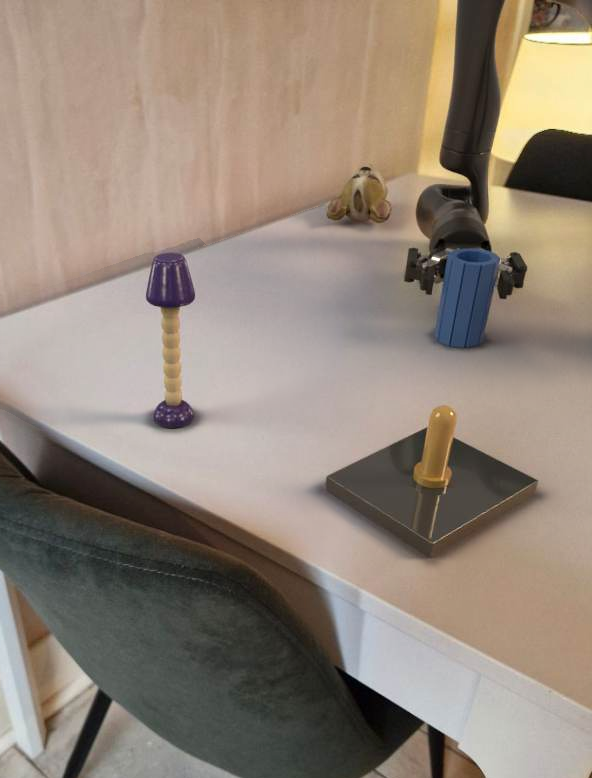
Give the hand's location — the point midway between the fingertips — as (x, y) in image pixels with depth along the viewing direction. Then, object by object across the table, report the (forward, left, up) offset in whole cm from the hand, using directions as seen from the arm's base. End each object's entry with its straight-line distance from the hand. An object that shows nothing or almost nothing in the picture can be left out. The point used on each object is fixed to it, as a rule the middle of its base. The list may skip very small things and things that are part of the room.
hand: (467, 289), depth 90 cm
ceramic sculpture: (-26, -41, -6) cm, 49 cm away
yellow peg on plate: (+28, +19, -6) cm, 35 cm away
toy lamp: (+38, -6, -6) cm, 39 cm away
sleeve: (0, 0, -6) cm, 6 cm away
